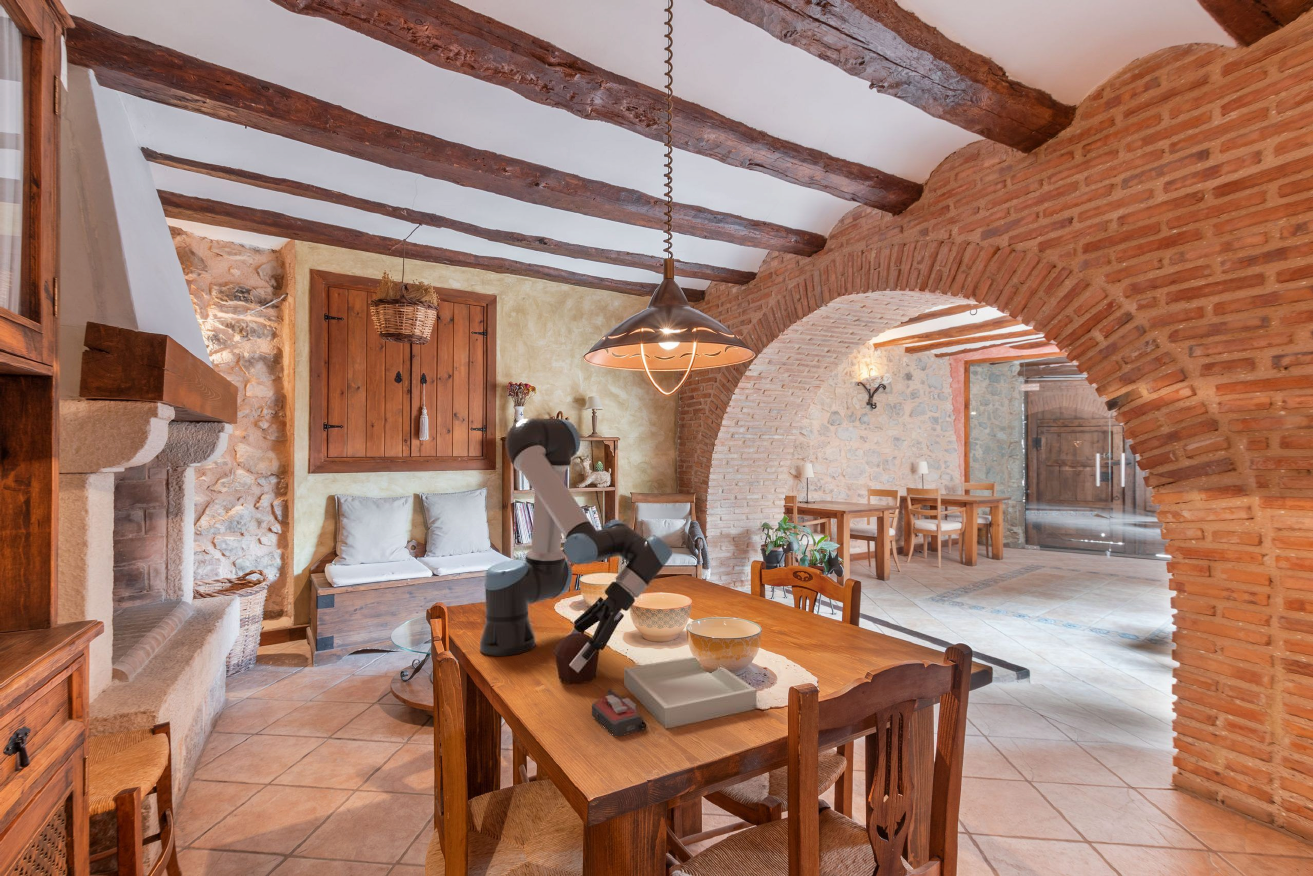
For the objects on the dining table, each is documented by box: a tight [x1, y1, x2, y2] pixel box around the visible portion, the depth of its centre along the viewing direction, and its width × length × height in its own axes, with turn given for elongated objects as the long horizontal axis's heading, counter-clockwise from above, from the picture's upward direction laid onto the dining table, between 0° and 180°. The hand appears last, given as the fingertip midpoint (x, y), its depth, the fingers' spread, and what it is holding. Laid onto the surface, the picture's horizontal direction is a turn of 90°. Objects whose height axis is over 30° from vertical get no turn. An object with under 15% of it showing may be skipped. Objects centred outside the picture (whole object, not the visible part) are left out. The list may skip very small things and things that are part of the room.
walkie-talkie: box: [591, 688, 647, 737], centre depth 126 cm, size 9×4×20 cm
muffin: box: [552, 633, 601, 685], centre depth 148 cm, size 12×11×10 cm
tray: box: [623, 655, 758, 729], centre depth 135 cm, size 24×21×4 cm
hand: (566, 660), depth 147 cm, fingers closed on muffin, 12 cm apart
